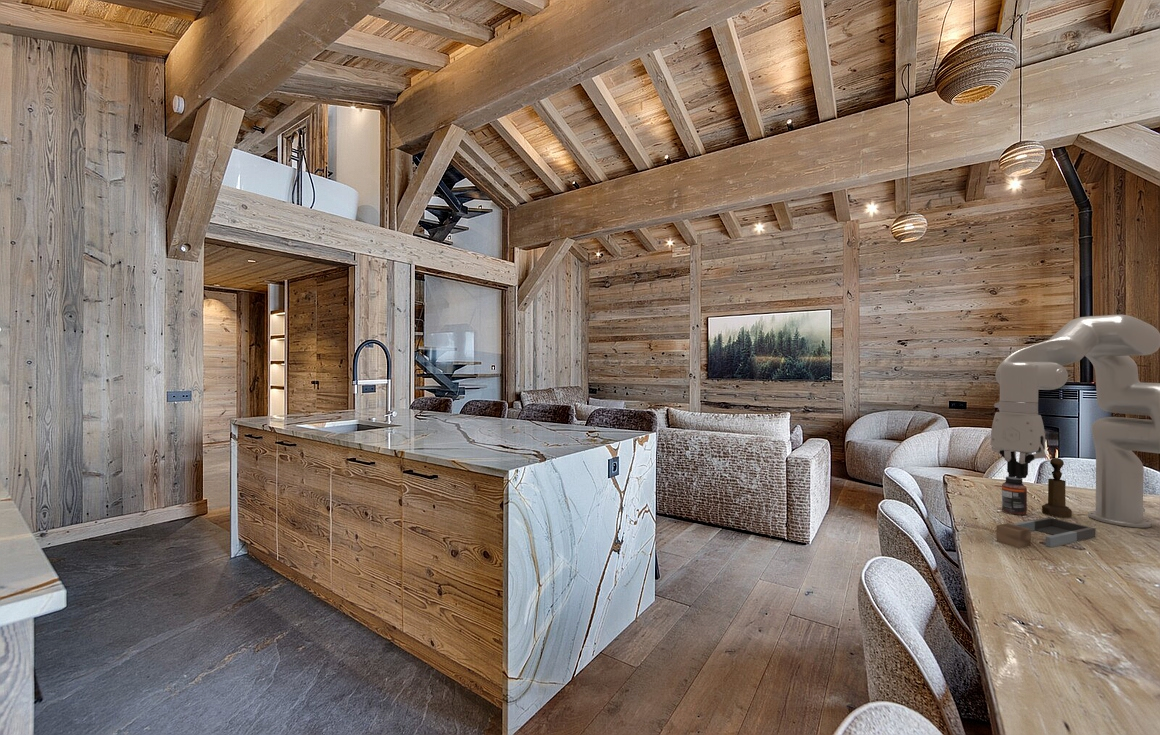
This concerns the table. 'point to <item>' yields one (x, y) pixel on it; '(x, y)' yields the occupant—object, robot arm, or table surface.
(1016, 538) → the walnut block
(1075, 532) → the grey u-shaped bracket
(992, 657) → the table surface
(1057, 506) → the pepper mill
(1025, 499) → the supplement bottle
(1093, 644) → the table surface
